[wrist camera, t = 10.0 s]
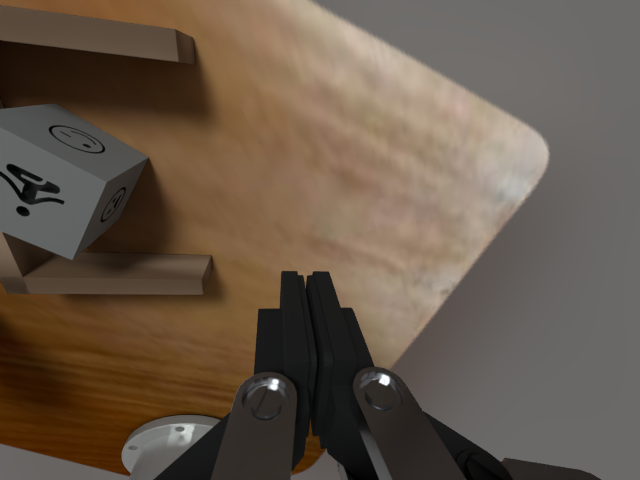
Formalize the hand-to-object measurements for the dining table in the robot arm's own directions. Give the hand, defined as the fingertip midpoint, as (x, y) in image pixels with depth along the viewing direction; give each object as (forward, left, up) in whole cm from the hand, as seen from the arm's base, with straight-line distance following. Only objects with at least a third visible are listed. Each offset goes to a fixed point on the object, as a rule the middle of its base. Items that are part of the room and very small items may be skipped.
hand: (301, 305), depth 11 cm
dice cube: (+1, +12, -11) cm, 17 cm away
